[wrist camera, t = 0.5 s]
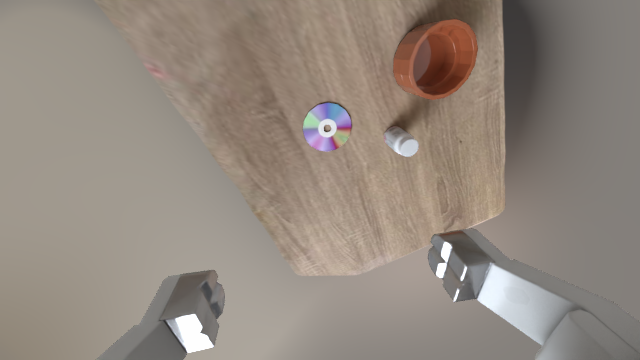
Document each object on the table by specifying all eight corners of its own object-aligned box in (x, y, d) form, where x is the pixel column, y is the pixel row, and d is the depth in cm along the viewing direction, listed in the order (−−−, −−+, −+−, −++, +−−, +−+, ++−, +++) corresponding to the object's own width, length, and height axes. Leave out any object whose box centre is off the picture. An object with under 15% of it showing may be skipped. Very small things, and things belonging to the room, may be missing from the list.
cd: (313, 158, 55) (313, 158, 55) (294, 114, 49) (294, 114, 49) (357, 140, 54) (357, 140, 54) (343, 94, 49) (343, 94, 49)
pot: (393, 29, 44) (411, 25, 38) (455, 19, 45) (484, 14, 38) (391, 97, 51) (407, 104, 44) (446, 88, 51) (469, 93, 45)
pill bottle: (397, 146, 57) (413, 160, 50) (380, 142, 56) (394, 156, 48) (405, 128, 55) (424, 140, 47) (388, 123, 54) (405, 134, 46)
